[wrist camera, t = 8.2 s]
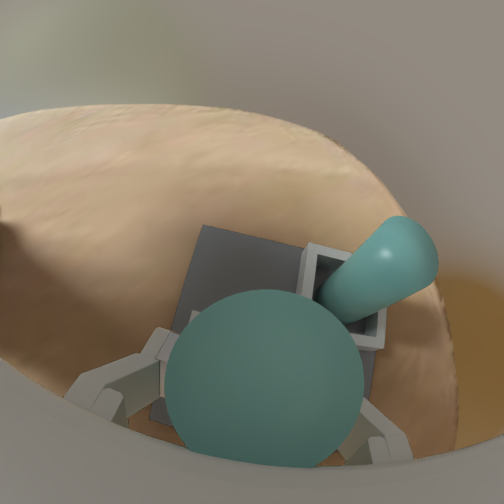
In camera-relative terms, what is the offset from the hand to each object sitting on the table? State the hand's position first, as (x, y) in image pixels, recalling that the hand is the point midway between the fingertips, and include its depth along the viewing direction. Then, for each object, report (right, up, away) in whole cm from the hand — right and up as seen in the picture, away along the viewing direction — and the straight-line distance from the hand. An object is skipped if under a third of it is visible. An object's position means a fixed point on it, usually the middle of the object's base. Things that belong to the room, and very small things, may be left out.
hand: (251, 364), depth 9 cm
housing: (+2, -3, +11) cm, 12 cm away
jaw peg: (-1, -3, +5) cm, 5 cm away
